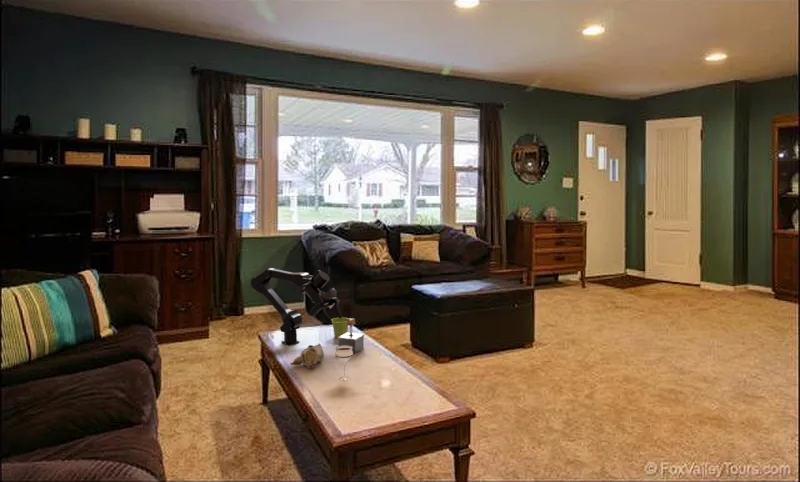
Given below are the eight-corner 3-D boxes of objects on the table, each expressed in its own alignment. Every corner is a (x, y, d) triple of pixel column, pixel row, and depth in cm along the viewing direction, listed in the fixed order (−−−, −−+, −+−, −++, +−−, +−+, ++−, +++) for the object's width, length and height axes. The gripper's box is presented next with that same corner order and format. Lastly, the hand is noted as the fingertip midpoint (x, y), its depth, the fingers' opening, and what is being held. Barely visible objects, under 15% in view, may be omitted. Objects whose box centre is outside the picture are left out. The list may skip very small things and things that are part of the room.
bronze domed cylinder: (345, 339, 231) (345, 319, 231) (349, 337, 235) (349, 317, 234) (352, 340, 230) (352, 320, 229) (356, 338, 233) (356, 318, 233)
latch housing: (338, 352, 231) (337, 337, 230) (349, 345, 240) (349, 331, 240) (355, 354, 227) (355, 339, 227) (366, 347, 237) (366, 333, 237)
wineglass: (353, 374, 202) (353, 345, 201) (352, 381, 195) (352, 350, 194) (336, 375, 202) (336, 345, 201) (334, 381, 195) (334, 350, 194)
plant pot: (348, 339, 251) (348, 322, 250) (329, 339, 251) (329, 322, 250) (351, 334, 260) (350, 317, 260) (332, 334, 261) (332, 317, 260)
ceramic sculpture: (330, 341, 217) (309, 353, 204) (331, 360, 219) (310, 373, 205) (309, 338, 222) (288, 350, 209) (310, 357, 223) (289, 370, 210)
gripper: (315, 286, 227) (337, 313, 223) (335, 280, 244) (356, 304, 241) (300, 302, 230) (321, 329, 227) (321, 295, 247) (342, 319, 244)
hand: (336, 320), depth 235 cm, fingers open, 9 cm apart
